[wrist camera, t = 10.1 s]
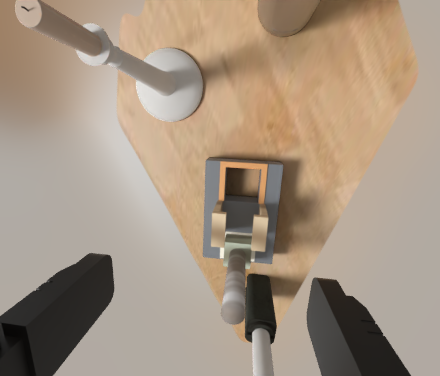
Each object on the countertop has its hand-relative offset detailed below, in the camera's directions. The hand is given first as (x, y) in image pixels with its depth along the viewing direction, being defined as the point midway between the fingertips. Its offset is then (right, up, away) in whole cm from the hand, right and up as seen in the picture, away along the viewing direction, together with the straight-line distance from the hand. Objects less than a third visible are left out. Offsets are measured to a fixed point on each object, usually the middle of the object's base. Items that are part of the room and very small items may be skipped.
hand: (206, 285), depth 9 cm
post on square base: (+4, -8, +37) cm, 38 cm away
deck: (+5, 0, +39) cm, 39 cm away
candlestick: (-9, +23, +35) cm, 43 cm away
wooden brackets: (+4, -2, +35) cm, 36 cm away
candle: (+9, -18, +43) cm, 48 cm away
